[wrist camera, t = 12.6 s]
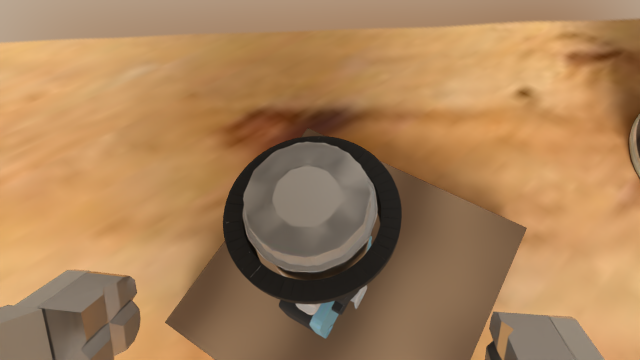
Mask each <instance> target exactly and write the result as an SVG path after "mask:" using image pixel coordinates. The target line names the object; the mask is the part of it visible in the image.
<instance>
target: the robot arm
mask: <svg viewBox="0 0 640 360" xmlns="http://www.w3.org/2000/svg"><path fill="white" fill-rule="evenodd" d="M136 293H137V290H136V284H135V280H134V279H133V278H132V277H130V276H127V275H118V274H110V273H101V272H91V271H84V270H67V271H65V272H64V273H62V274H61V275H59V276H58V277H56V278H55V279H53V280H52V281H50V282H49V283H47V284H46V285H44V286H43V287H41V288H40V289H38V290H37V291H35V292H34V293H32V294H31V295H29V296H28V297H26V298H25V299H23V300H22V301H20V302H19V303H17V304H16V305H14V306H12V305H7V306H4V307H0V360H114V356H115V355H117V354H119V353H121V352H123V351H125V350H127V349H128V348H129V346H130V345H131V344H132V343H133V342H134V340H135V338H136V335H137V333H138V331H139V327H140V311H139V308H138V307H137V306H136V304H135V303H134V302H133V301H132V300H133V298H134V297H135V295H136ZM489 329H490V332H491V335H492V338H493V342H491V343H490V344H489V345H488V346H487V347H486V355H485V360H605V359H604V358H603V356H602V355H601V354H600V352H599V351H598V350H597V348H596V347H595V345H594V344H593V343H592V341H591V340H590V338H589V337H588V336H587V334H586V333H585V331H584V330H583V329H582V327H581V326H580V324H579V323H578V322H577V320H576V319H574V318H572V317H564V316H548V315H531V314H517V313H504V312H493V315H492V317H491V322H490V328H489Z"/></svg>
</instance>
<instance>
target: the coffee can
mask: <svg viewBox="0 0 640 360" xmlns="http://www.w3.org/2000/svg"><path fill="white" fill-rule="evenodd" d="M629 149H630V155H631V159H632V162H633V165H634V168H635V170H636V172H637V174H638V175H639V177H640V114H639V115H638V117H637V118H636V120H635V122H634V124H633V126H632V129H631V133H630V138H629Z"/></svg>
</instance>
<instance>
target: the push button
mask: <svg viewBox="0 0 640 360" xmlns="http://www.w3.org/2000/svg"><path fill="white" fill-rule="evenodd" d="M377 213H378V216H379V221H380V227H379V230H378V233H377V236H376V238H375V240H374V242H373V244H372V245H371V240H372V236H370V235H371V232H372V229H373V226H374V224H375V221H376V218H377ZM401 220H402V207H401V200H400V196H399V192H398V189H397V186H396V184H395V182H394V180H393V178H392V176H391V174H390V173H389V172H388V170H387V169H386V167H385V166H384V165H383V164H382V163H381V162H380V161H379V160H378V159H377V158H376V157H375V156H374V155H373V154H371V153H370V152H369V151H367V150H365V149H364V148H362V147H360V146H358V145H356V144H354V143H352V142H349V141H346V140H343V139H339V138H334V137H327V136H308V137H301V138H296V139H292V140H288V141H285V142H283V143H280V144H278V145H276V146H274V147H271V148H270V149H268V150H266V151H265V152H263V153H262V154H260V155H259V156H258V157H256V158H255V159H254V160H253V161H252V162H251V163H249V164H248V166H247V167H246V168H245V169H244V170H243V171H242V172H241V174H240V175H239V176H238V178H237V179H236V181H235V183H234V184H233V186H232V188H231V190H230V192H229V195H228V198H227V201H226V205H225V209H224V216H223V231H224V238H225V243H226V246H227V249H228V252H229V254H230V256H231V258H232V260H233V262H234V263H235V265H236V266H237V268H238V269H239V270H240V272H241V273H242V274H243V275H244V276H245V277H246V278H247V279H248V280H249V281H250V282H251V283H252V284H253V285H254V286H256V287H257V288H258V289H260V290H261V291H263V292H265V293H266V294H268V295H270V296H272V297H275V298H277V299H280V302H279V307H280V309H281V310H282V311H283V312H284V313H285V314H286V315H287V316H288V317H290V318H292V319H293V320H295V321H297V322H298V323H300V324H302V325H303V326H305V327H307V328H308V329H310V330H312V331H313V332H315V333H317V334H318V335H320V336H322V337H323V338H325V339H326V338H327V336H328V335H329V333H330V331H331V329H332V327H333V324H334V322H335V320H336V318H337V317H338V315H342V314H343V312H344V310H345V308H346V307H347V305H348V303H349V301H350V300H351V301H352V302H354V305H355V308H356V309H357V308H358V306H359V304H360V302H361V300H362V298H363V296H364V294H365V292H366V290H367V284H368V283H370V282H371V281H372V280H373V279H374V278H375V277H376V276H377V275H378V274H379V273H380V272H381V271H382V270H383V268H384V267H385V266H386V264H387V263H388V261H389V260H390V258H391V256H392V254H393V252H394V250H395V248H396V245H397V242H398V238H399V234H400V229H401ZM256 250H257V251H258V252H259V254H260V255H261V256H262V257H263V258H264V259H265V260H267V261H269V262H271V263H273V264H274V266H275V267H276V268H277V270H278V271H279V272H280V273H281V274H282V275H280V274H278V273H276V272H274V271H272V270H270V269H269V268H267V267H266V266H265V265H263V264H262V263H261V261H260V259H259V257H258V254H257V251H256Z"/></svg>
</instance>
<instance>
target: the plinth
mask: <svg viewBox="0 0 640 360" xmlns="http://www.w3.org/2000/svg"><path fill="white" fill-rule="evenodd" d="M308 136H324V135H322V134H320V133H317V132H315V131H313V130H311V129H309V128H308V129H307V130H306V131H305V133H304V134H303V135H302V137H308ZM380 162H381V161H380ZM381 163H382V164H383V165H384V166H385V167H386V169H387V170H388V172H389V173H390V174H391V176H392V178H393V180H394V182H395V184H396V186H397V189H398V192H399V196H400V200H401V207H402V220H401V229H400V234H399V238H398V242H397V245H396V248H395V250H394V252H393V254H392V256H391V258H390V260H389V261H388V263H387V264H386V266H385V267H384V268H383V270H382V271H381V272H380V273H379V274H378V275H377V276H376V277H375V278H374V279H373V280H372V281H371V282H370V283H368V284H367V290H366V292H365V294H364V296H363V298H362V300H361V302H360V304H359V306H358V308H357V309H356V308H355V305H354V302H352V301H351V300H350V301H349V303H348V305H347V307H346V308H345V310H344V312H343V314H342V315H338V317H337V318H336V320H335V322H334V324H333V327H332V329H331V331H330V333H329V335H328V336H327V338H326V339H325V338H323V337H322V336H320V335H318V334H317V333H315V332H313V331H312V330H310V329H308V328H307V327H305V326H303V325H302V324H300V323H298V322H297V321H295V320H293V319H292V318H290V317H288V316H287V315H286V314H285V313H284V312H283V311H282V310H281V309H280V307H279V302H280V299H277V298H275V297H272V296H270V295H268V294H266V293H265V292H263V291H261V290H260V289H258V288H257V287H256V286H254V285H253V284H252V283H251V282H250V281H249V280H248V279H247V278H246V277H245V276H244V275H243V274H242V273H241V272H240V270H239V269H238V268H237V266H236V265H235V263H234V262H233V260H232V258H231V256H230V254H229V252H228V249H227V246H226V243H225V241H224V243H223V244H222V245H221V247H220V248H219V250H218V251H217V252H216V254H215V255H214V256H213V258H212V259H211V260H210V262H209V263H208V264H207V266H206V267H205V269H204V270H203V271H202V273H201V274H200V275H199V277H198V278H197V279H196V281H195V282H194V284H193V285H192V286H191V288H190V289H189V290H188V292H187V293H186V294H185V296H184V297H183V298H182V300H181V301H180V303H179V304H178V305H177V307H176V308H175V309H174V311H173V312H172V313H171V315H170V316H169V317H168V319H167V320H166V322H165V323H166V324H168V325H169V326H171V327H172V328H173V329H175V330H176V331H177V332H179V333H180V334H181V335H183V336H184V337H185V338H187V339H188V340H189V341H191V342H192V343H193V344H195V345H196V346H197V347H199V348H200V349H201V350H203V351H204V352H205V353H207V354H208V355H209V356H211V357H212V358H214V359H215V360H470V359H471V357H472V355H473V352H474V350H475V348H476V345H477V343H478V341H479V338H480V336H481V334H482V331H483V329H484V327H485V324H486V322H487V320H488V317H489V315H490V313H491V310H492V308H493V306H494V303H495V301H496V299H497V296H498V294H499V292H500V289H501V287H502V285H503V282H504V280H505V278H506V275H507V273H508V271H509V268H510V266H511V264H512V261H513V259H514V257H515V254H516V252H517V250H518V248H519V245H520V243H521V241H522V238H523V236H524V234H525V231H526V229H527V228H526V227H523V226H521V225H519V224H517V223H515V222H512V221H510V220H508V219H506V218H504V217H501V216H499V215H497V214H495V213H493V212H491V211H488V210H486V209H484V208H482V207H480V206H477V205H475V204H473V203H471V202H469V201H466V200H464V199H462V198H460V197H458V196H455V195H453V194H451V193H449V192H447V191H445V190H442V189H440V188H438V187H436V186H434V185H431V184H429V183H427V182H425V181H423V180H420V179H418V178H416V177H414V176H412V175H409V174H407V173H405V172H403V171H401V170H399V169H396V168H394V167H392V166H390V165H388V164H385V163H383V162H381ZM379 227H380V221H379V216H378V213H377V218H376V221H375V224H374V226H373V229H372V232H371V235H370V236H372V240H371V245H372V244H373V242H374V240H375V238H376V236H377V233H378V230H379ZM256 251H257V250H256ZM257 254H258V257H259V259H260V261H261V263H262V264H263V265H265V266H266V267H267V268H269V269H270V270H272V271H274V272H276V273H278V274H280V275H282V274H281V273H280V272H279V271H278V270H277V268H276V267H275V266H274V264H273V263H271V262H269V261H267V260H265V259H264V258H263V257H262V256H261V255H260V254H259V252H258V251H257Z"/></svg>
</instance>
